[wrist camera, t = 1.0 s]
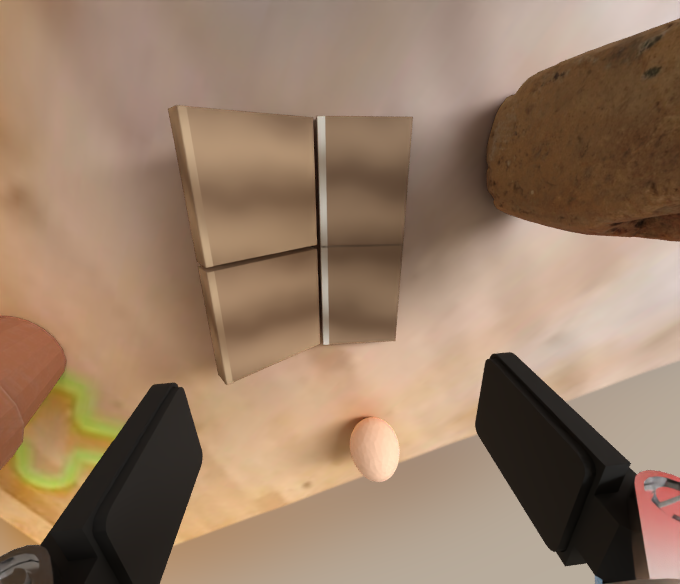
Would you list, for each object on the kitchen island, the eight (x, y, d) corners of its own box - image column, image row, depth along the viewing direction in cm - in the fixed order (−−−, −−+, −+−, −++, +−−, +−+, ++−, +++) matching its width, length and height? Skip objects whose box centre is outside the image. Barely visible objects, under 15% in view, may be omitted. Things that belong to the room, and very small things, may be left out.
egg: (349, 442, 42) (357, 499, 35) (344, 409, 39) (352, 463, 32) (391, 435, 42) (408, 491, 35) (390, 402, 40) (407, 455, 33)
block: (502, 74, 26) (934, -110, 8) (581, 89, 27) (1125, -45, 9) (465, 206, 31) (698, 280, 12) (535, 215, 32) (847, 296, 13)
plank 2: (197, 266, 24) (206, 273, 23) (305, 244, 30) (317, 249, 29) (218, 374, 28) (226, 385, 27) (309, 336, 34) (320, 344, 33)
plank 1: (167, 108, 20) (176, 105, 19) (299, 119, 26) (313, 117, 25) (196, 261, 24) (205, 267, 23) (305, 240, 30) (317, 244, 29)
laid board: (316, 118, 26) (316, 115, 25) (405, 119, 27) (413, 116, 25) (322, 334, 35) (323, 344, 33) (390, 331, 35) (395, 341, 34)
